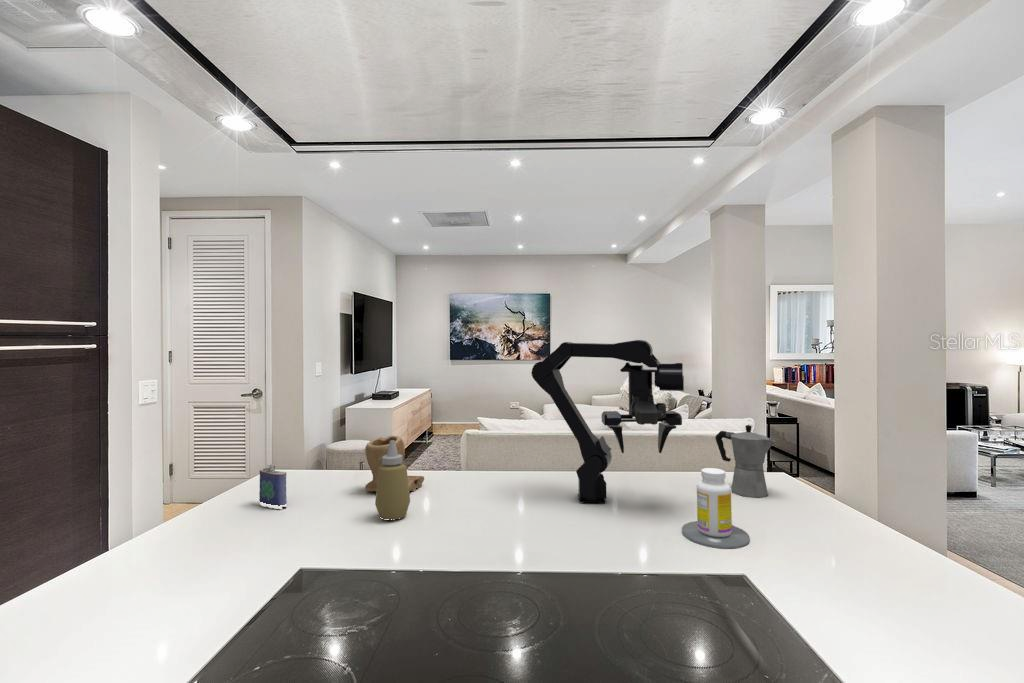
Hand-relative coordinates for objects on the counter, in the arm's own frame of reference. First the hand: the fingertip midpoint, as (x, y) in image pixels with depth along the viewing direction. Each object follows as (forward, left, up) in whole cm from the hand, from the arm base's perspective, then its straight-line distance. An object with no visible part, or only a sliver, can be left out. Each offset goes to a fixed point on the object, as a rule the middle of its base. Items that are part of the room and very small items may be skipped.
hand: (641, 452), depth 119 cm
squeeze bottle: (-60, -9, -13) cm, 62 cm away
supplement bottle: (+11, -18, -13) cm, 25 cm away
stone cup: (-66, +11, -13) cm, 68 cm away
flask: (-93, -2, -13) cm, 94 cm away
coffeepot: (+30, +11, -13) cm, 35 cm away
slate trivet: (+11, -18, -13) cm, 25 cm away
